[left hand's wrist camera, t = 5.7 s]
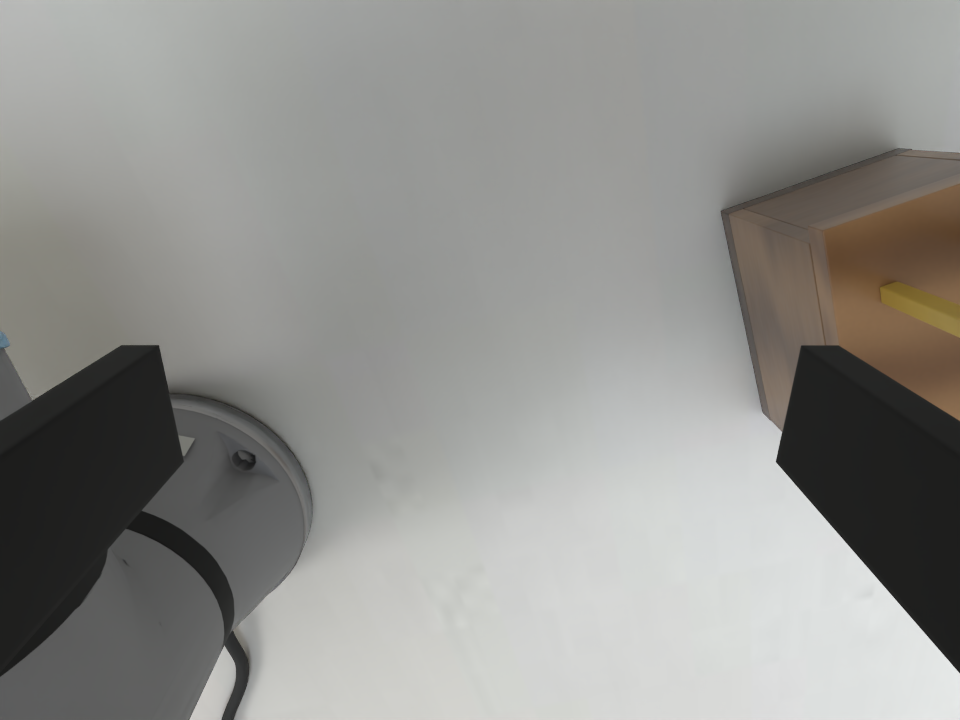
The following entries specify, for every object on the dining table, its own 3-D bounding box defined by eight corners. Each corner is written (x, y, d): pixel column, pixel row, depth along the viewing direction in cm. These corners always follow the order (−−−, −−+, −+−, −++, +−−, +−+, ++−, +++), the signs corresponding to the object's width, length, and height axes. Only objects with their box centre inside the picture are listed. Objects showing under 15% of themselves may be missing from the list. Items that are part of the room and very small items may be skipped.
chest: (720, 211, 32) (808, 243, 23) (898, 148, 31) (1060, 158, 22) (762, 412, 36) (849, 501, 28) (919, 364, 35) (1059, 442, 27)
